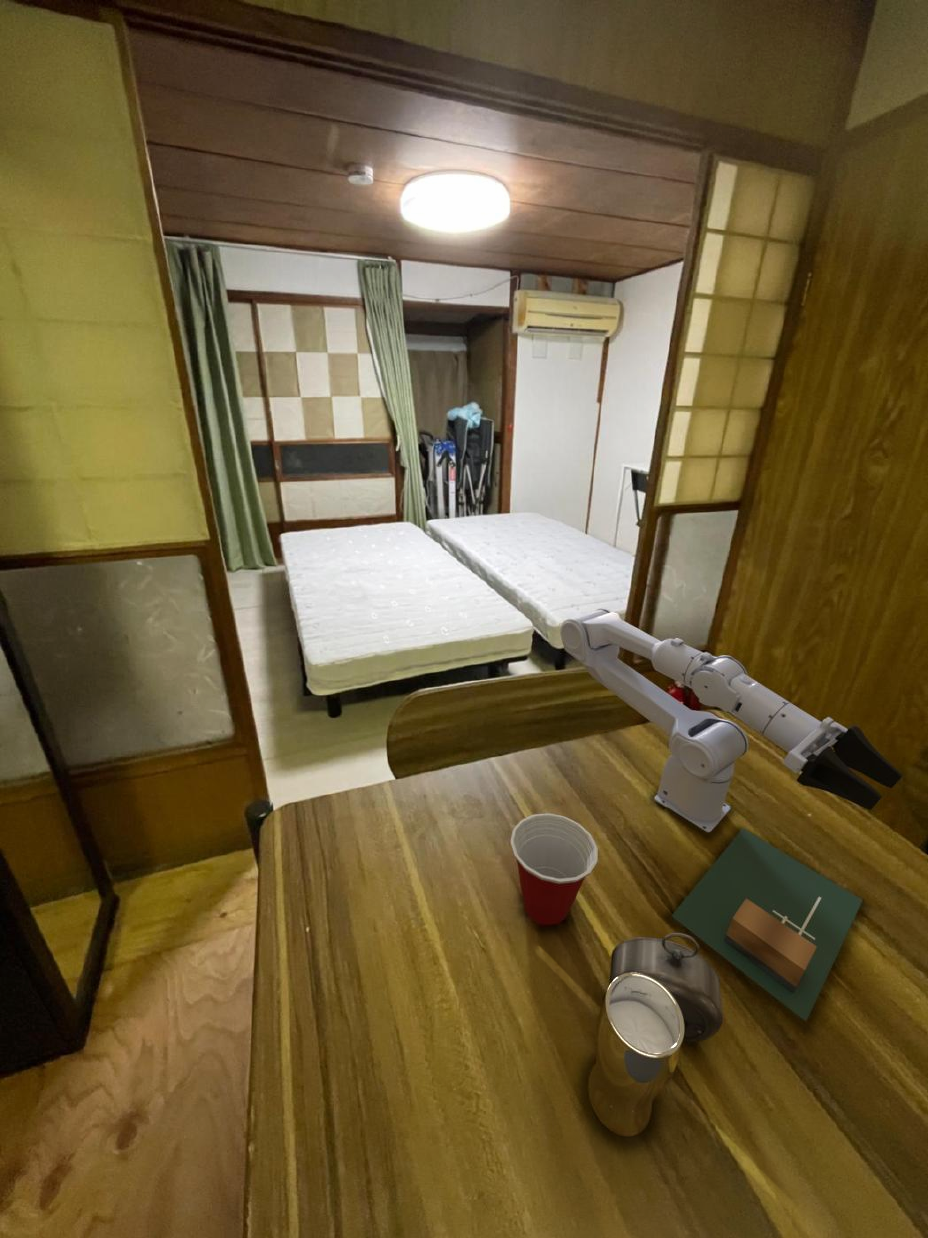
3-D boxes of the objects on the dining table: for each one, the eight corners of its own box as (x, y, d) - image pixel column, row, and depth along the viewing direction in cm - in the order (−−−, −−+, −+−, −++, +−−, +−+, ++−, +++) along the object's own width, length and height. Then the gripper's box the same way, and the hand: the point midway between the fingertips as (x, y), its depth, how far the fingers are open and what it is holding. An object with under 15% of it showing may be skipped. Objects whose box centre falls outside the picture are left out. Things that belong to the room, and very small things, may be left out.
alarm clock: (704, 1019, 57) (741, 927, 50) (708, 1076, 52) (749, 984, 45) (604, 983, 60) (625, 892, 53) (599, 1034, 56) (621, 942, 48)
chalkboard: (670, 919, 67) (671, 916, 67) (741, 830, 81) (742, 828, 80) (804, 1024, 57) (806, 1021, 56) (861, 903, 70) (863, 900, 70)
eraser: (723, 940, 64) (732, 918, 62) (737, 920, 67) (746, 898, 65) (793, 993, 59) (805, 970, 57) (805, 969, 61) (817, 946, 59)
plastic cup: (594, 888, 71) (606, 826, 66) (576, 960, 63) (587, 896, 57) (521, 859, 75) (526, 798, 70) (493, 923, 67) (497, 860, 61)
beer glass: (574, 1057, 54) (592, 972, 47) (639, 1051, 54) (665, 966, 48) (595, 1147, 48) (619, 1065, 41) (668, 1139, 48) (702, 1056, 41)
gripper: (767, 710, 64) (887, 789, 55) (814, 685, 72) (926, 750, 63) (740, 751, 67) (850, 832, 58) (789, 723, 75) (891, 789, 66)
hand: (887, 792), depth 61 cm, fingers open, 7 cm apart
